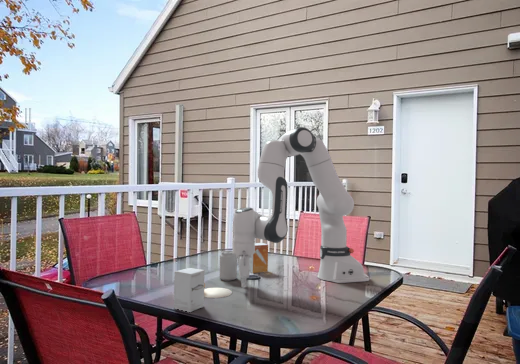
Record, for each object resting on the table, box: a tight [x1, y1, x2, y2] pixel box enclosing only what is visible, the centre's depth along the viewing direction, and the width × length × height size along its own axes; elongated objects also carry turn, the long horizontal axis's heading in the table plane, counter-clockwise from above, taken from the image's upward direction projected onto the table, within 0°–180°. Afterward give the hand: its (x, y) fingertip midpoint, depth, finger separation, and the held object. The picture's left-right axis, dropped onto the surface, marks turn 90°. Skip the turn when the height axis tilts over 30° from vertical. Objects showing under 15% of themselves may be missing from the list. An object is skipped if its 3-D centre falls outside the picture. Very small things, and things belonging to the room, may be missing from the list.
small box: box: [249, 242, 269, 274], centre depth 183 cm, size 8×6×13 cm
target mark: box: [204, 287, 233, 299], centre depth 147 cm, size 13×13×1 cm
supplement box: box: [173, 267, 206, 313], centre depth 129 cm, size 7×7×13 cm
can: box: [219, 250, 238, 282], centre depth 168 cm, size 8×8×12 cm
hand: (243, 283), depth 152 cm, fingers open, 8 cm apart
